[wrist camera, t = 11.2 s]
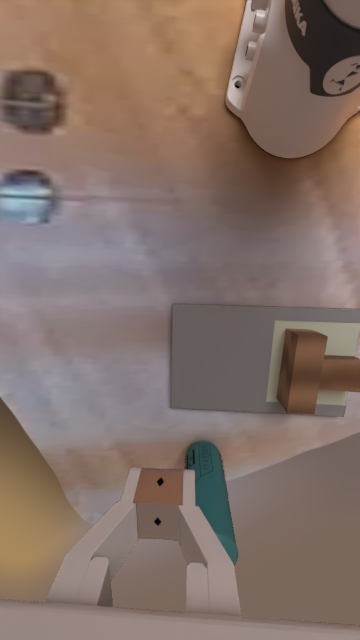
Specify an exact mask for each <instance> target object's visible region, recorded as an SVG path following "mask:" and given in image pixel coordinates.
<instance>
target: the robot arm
mask: <svg viewBox="0 0 360 640" xmlns="http://www.w3.org/2000/svg"><path fill="white" fill-rule="evenodd" d="M236 85H237V86H239V87H240V88H235V86H236ZM225 103H226V106H227V107H228V109H229V110H230V111H232V112H233V113H234V114H235V115H236V116H238V117H239V118H240V119H241V120H242V121H243V123H244V124H245V126H246V128H247V130H248V132H249V134H250V135H251V137H252V138H253V140H254V141H255V142H256V143H257V144H258V145H259V146H260V147H261V148H262V149H264V150H265V151H267V152H268V153H270V154H272V155H275V156H278V157H283V158H298V157H303V156H306V155H309V154H312V153H314V152H316V151H317V150H319V149H321V148H322V147H324V146H325V145H326V144H327V143H328V142H330V141H331V140H332V139H333V137H334V136H335V135H336V134H337V133H338V131H339V130H340V129H341V127H342V126H343V125H344V123H345V122H346V121H347V120H348V119H349V118H350V117H351V116H353V115H354V114H356V113H357V112H359V111H360V0H247V1H246V6H245V10H244V15H243V19H242V24H241V28H240V33H239V37H238V42H237V46H236V51H235V55H234V60H233V64H232V69H231V73H230V78H229V83H228V87H227V92H226V96H225ZM138 538H139V539H140V538H141V539H165V540H175V541H179V545H180V547H181V550H182V552H183V555H184V557H185V560H186V563H187V565H188V567H187V593H186V612H176V611H162V610H148V609H134V608H119V607H113V602H112V593H111V592H112V591H111V581H112V579H113V577H114V576H115V574H116V573H117V571H118V570H119V568H120V567H121V565H122V564H123V562H124V561H125V559H126V557H127V556H128V554H129V553H130V551H131V550H132V548H133V547H134V545H135V544H136V542H137V541H138ZM0 640H360V625H353V624H339V623H326V622H311V621H299V620H298V621H297V620H285V619H284V620H283V619H271V618H256V617H243V616H241V611H240V604H239V597H238V591H237V584H236V577H235V571H234V564H233V562H232V561H231V559H230V557H229V556H228V554H227V552H226V551H225V549H224V547H223V546H222V544H221V543H220V541H219V539H218V538H217V536H216V534H215V533H214V531H213V529H212V528H211V526H210V524H209V523H208V521H207V519H206V518H205V516H204V514H203V513H202V511H201V509H200V508H199V506H195V471H194V470H184V472H183V469H154V468H137V467H131V469H130V471H129V474H128V477H127V480H126V483H125V487H124V490H123V493H122V496H121V499H120V502H116V503H115V504H114V505H113V506H112V507H111V508H110V509H109V510H108V511H107V512H106V513H105V514H104V515H103V517H102V518H101V519H100V520H99V521H98V522H97V523H96V524H95V525H94V526H93V527H92V528H91V529H90V530H89V531H88V532H87V533H86V534H85V535H84V536H83V537H82V538H81V539H80V540H79V541H78V542H77V543H76V544H75V545H74V546H73V547H72V548H71V549H70V550H69V551H68V552H67V554H66V556H65V558H64V560H63V563H62V565H61V567H60V569H59V572H58V574H57V576H56V579H55V581H54V583H53V585H52V587H51V590H50V592H49V594H48V596H47V598H46V601H45V602H38V601H37V602H36V601H24V600H10V599H0Z"/></svg>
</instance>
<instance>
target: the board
mask: <svg viewBox="0 0 360 640" xmlns="http://www.w3.org/2000/svg"><path fill="white" fill-rule="evenodd" d="M286 328H289V329H310V330H314V331H317V332H319V333H321V334H324V335H326V336H328V339H327V345H326V351H325V355H338V356H354V357H355V352H356V347H357V342H358V336H359V331H360V309H343V308H309V307H275V306H241V305H207V304H173V318H172V376H171V408H182V409H202V410H222V411H242V412H262V413H281V414H299V413H287V412H286V411H285V409H284V408H283V407H282V405H281V404H280V402H279V401H278V400H277V391H278V383H279V376H280V368H281V361H282V353H283V346H284V339H285V331H286ZM347 395H348V391H333V390H319V391H318V396H317V402H316V408H315V414H301V415H321V416H341V417H344V413H345V408H346V400H347Z"/></svg>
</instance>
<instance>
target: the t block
mask: <svg viewBox="0 0 360 640" xmlns="http://www.w3.org/2000/svg"><path fill="white" fill-rule="evenodd" d="M327 339H328V336H326V335H324V334H321V333H319V332H317V331H314V330H310V329H289V328H286V331H285V339H284V346H283V353H282V361H281V368H280V376H279V383H278V391H277V400H278V401H279V402H280V404H281V405H282V407H283V408H284V409H285V411H286V412H287V413H299V414H315V408H316V402H317V396H318V391H319V390H333V391H350V392H360V359H358V358H356V357H354V356H338V355H325V351H326V345H327Z"/></svg>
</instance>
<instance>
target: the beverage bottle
mask: <svg viewBox="0 0 360 640" xmlns="http://www.w3.org/2000/svg"><path fill="white" fill-rule="evenodd" d="M221 456H222V455H220V451H219V450H218V449H217V447H216V446H215V445H213V444H212V443H209V442H205V441H201V442H196V443H194V444H192V445H191V446H190V447H189V449H188V451H187V454H186V459H185V460H186V462H185V463H186V467H185V468H186V470H194V471H195V506H199V508H200V509H201V511H202V513H203V514H204V516H205V518H206V519H207V521H208V523H209V524H210V526H211V528H212V529H213V531H214V533H215V534H216V536H217V538H218V539H219V541H220V543H221V544H222V546H223V547H224V549H225V551H226V552H227V554H228V556H229V557H230V559H231V561H232V562H233V564H234V566H235V564H236V562H237V558H238V549H237V545H236V541H235V535H234V529H233V524H232V518H231V512H230V507H229V501H228V493H227V487H226V482H225V478H226V477H225V476H224V472H225V471H223V466H224V465H222V464H223V463H222V462H223V461H222V460H221Z"/></svg>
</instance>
